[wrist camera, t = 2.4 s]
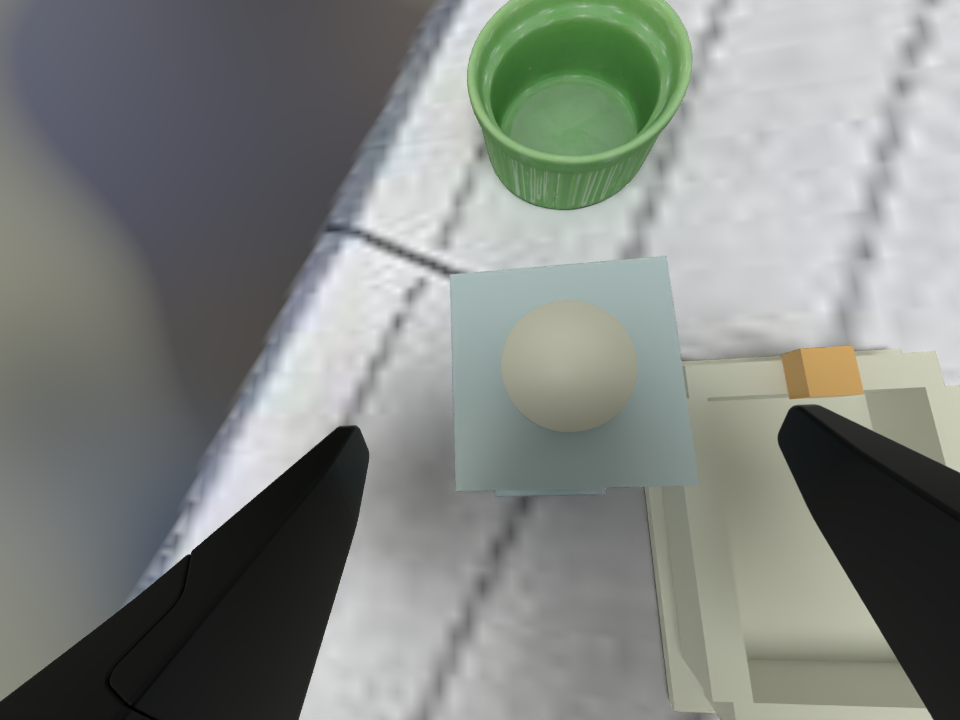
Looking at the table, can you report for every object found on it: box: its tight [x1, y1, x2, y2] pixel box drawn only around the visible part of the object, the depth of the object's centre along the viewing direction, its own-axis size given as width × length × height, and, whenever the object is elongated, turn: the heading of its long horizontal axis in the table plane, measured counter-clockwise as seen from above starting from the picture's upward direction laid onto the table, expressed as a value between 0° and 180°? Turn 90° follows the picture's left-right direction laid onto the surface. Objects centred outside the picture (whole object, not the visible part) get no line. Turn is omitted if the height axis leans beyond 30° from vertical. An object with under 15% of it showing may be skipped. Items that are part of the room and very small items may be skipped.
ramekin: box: [467, 0, 692, 209], centre depth 18 cm, size 9×9×4 cm
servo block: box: [450, 256, 699, 497], centre depth 12 cm, size 8×4×11 cm, turn 2°
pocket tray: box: [644, 345, 960, 720], centre depth 14 cm, size 13×10×4 cm
